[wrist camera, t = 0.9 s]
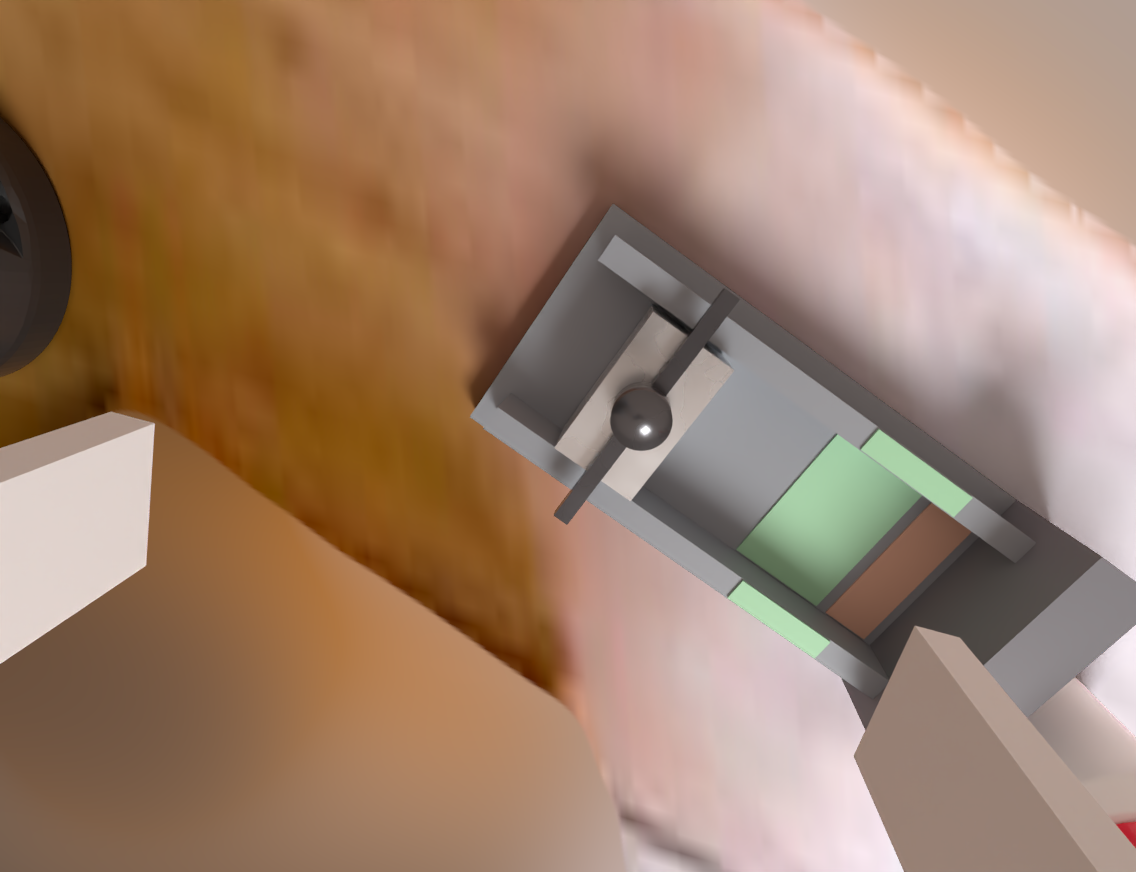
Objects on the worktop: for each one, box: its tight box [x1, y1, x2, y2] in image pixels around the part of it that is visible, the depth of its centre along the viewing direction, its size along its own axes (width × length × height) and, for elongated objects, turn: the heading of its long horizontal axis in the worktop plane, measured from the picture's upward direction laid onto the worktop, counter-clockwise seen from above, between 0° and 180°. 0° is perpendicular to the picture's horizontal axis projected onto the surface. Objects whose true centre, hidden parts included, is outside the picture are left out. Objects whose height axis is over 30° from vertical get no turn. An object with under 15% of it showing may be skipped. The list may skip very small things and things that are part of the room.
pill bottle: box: [1027, 677, 1136, 848], centre depth 30 cm, size 8×8×11 cm
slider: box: [554, 288, 740, 524], centre depth 28 cm, size 4×12×6 cm, turn 145°
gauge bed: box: [470, 204, 1136, 730], centre depth 29 cm, size 26×12×7 cm, turn 55°
